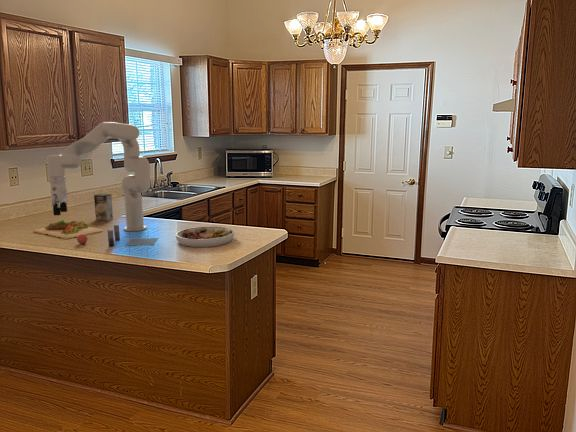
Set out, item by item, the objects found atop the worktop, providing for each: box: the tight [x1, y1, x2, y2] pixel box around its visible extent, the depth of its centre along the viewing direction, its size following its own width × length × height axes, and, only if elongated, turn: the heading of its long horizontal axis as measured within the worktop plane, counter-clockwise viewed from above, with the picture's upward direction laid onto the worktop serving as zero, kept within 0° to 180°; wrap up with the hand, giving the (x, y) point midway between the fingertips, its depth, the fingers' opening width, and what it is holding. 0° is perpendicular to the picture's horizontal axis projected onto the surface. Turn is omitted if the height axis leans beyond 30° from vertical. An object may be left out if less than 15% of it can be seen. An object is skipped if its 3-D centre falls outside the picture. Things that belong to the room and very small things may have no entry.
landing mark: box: [125, 237, 159, 247], centre depth 258 cm, size 14×14×1 cm
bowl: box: [175, 225, 235, 248], centre depth 258 cm, size 30×30×8 cm
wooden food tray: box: [33, 219, 104, 239], centre depth 284 cm, size 35×23×8 cm
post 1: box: [107, 229, 115, 247], centre depth 250 cm, size 3×3×8 cm
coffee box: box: [93, 193, 114, 221], centre depth 316 cm, size 9×6×16 cm
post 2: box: [113, 224, 121, 242], centre depth 262 cm, size 3×3×8 cm
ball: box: [76, 234, 88, 245], centre depth 255 cm, size 5×5×5 cm
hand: (60, 213), depth 251 cm, fingers open, 8 cm apart
